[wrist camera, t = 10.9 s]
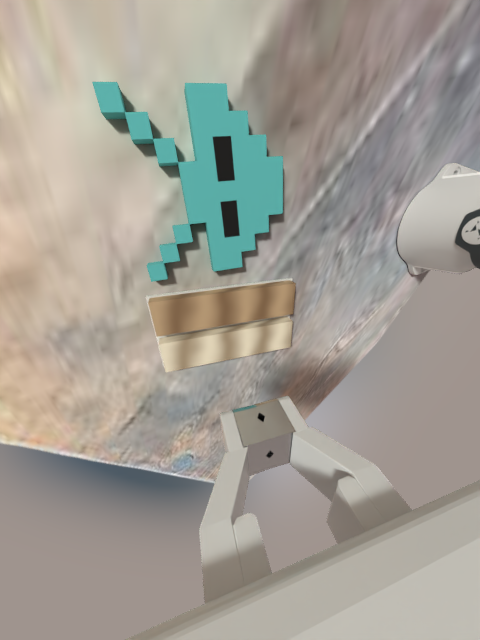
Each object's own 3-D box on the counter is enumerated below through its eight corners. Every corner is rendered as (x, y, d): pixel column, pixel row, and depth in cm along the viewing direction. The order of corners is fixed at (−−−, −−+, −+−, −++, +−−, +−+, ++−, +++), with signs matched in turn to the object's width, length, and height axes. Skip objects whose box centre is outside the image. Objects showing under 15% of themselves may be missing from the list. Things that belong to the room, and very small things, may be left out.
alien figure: (152, 277, 32) (277, 257, 36) (151, 281, 30) (282, 260, 34) (99, 93, 22) (274, 93, 26) (92, 81, 21) (282, 84, 24)
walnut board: (289, 280, 37) (295, 283, 35) (287, 313, 40) (292, 317, 38) (149, 298, 32) (148, 302, 30) (158, 334, 35) (157, 340, 33)
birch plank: (287, 316, 40) (292, 321, 38) (285, 341, 42) (290, 347, 41) (159, 338, 35) (158, 344, 33) (166, 365, 37) (165, 372, 36)
